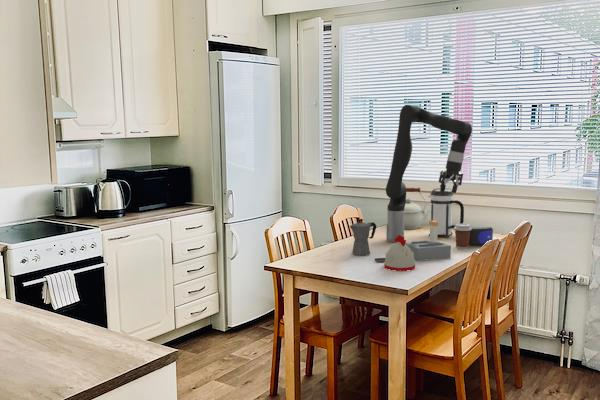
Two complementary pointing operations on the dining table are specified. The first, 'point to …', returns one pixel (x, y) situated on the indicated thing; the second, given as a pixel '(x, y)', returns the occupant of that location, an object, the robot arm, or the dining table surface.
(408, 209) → the kettle
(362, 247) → the coffeepot
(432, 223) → the breaker slider
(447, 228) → the coffee press
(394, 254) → the cream and red dome
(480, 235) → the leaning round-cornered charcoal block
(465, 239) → the coffee cup
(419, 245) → the box
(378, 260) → the cords
